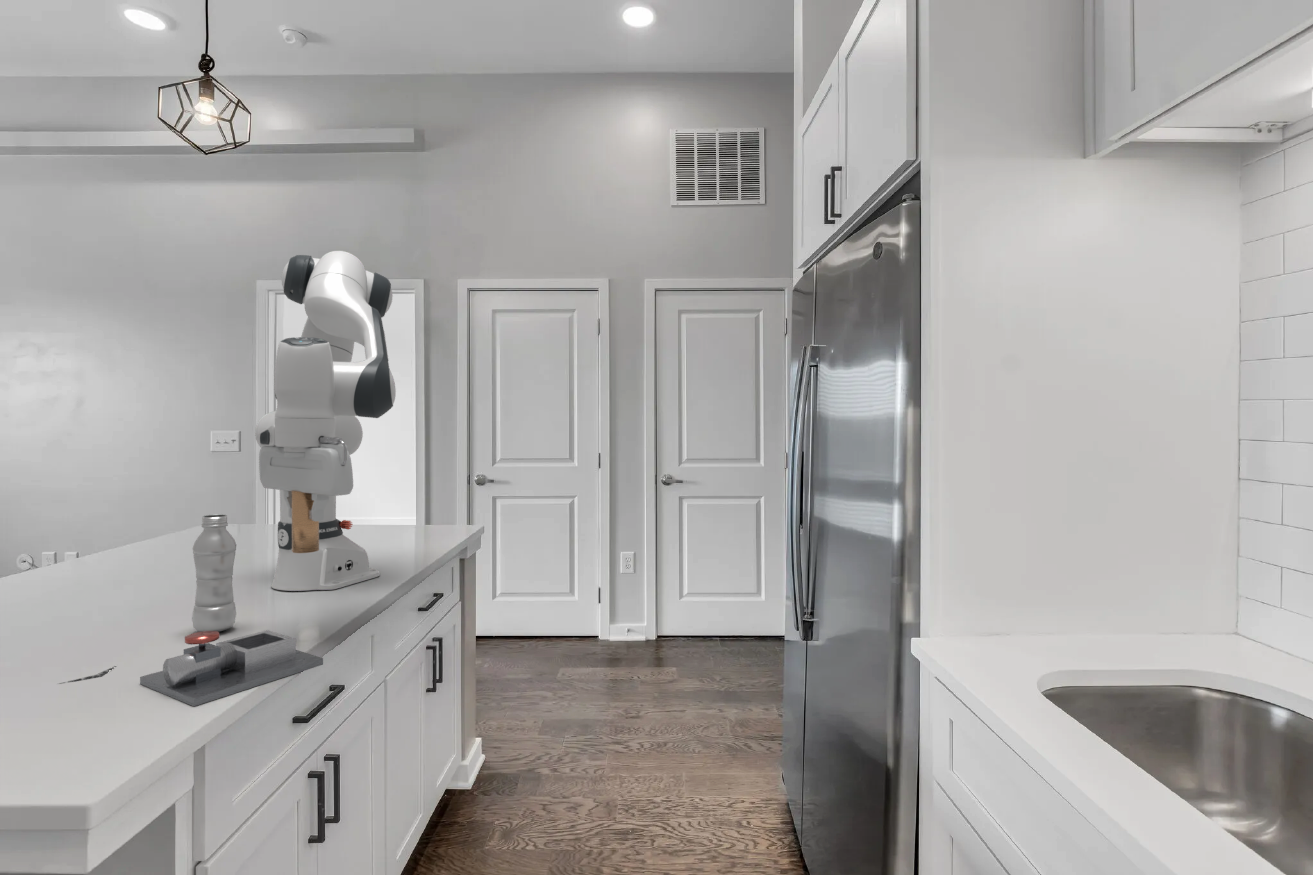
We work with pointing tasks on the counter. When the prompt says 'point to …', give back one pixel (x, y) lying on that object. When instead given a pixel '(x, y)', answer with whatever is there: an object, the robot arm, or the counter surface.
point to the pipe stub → (303, 524)
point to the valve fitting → (228, 666)
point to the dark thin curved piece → (91, 676)
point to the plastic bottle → (214, 576)
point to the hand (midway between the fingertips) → (306, 519)
